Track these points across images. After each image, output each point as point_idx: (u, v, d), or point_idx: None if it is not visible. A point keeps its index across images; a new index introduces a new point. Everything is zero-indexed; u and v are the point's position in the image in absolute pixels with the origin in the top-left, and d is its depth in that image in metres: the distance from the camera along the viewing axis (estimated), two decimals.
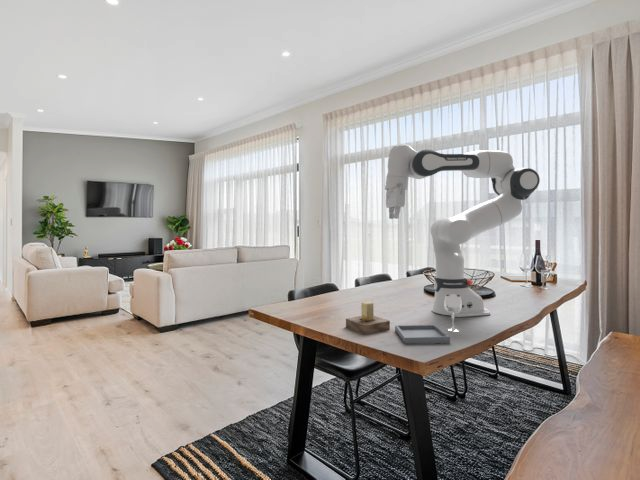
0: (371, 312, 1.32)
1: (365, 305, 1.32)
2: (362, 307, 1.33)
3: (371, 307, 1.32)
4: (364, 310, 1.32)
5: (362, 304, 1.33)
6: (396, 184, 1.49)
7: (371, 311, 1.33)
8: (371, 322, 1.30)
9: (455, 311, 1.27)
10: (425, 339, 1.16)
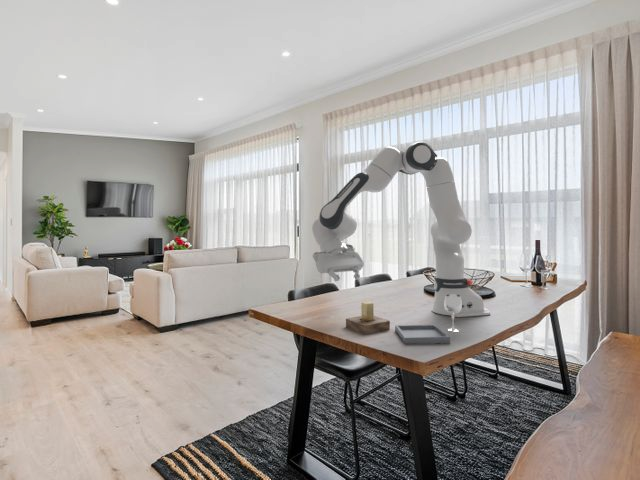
0: (371, 312, 1.32)
1: (365, 305, 1.32)
2: (362, 307, 1.33)
3: (371, 307, 1.32)
4: (364, 310, 1.32)
5: (362, 304, 1.33)
6: None
7: (371, 311, 1.33)
8: (371, 322, 1.30)
9: (455, 311, 1.27)
10: (425, 339, 1.16)
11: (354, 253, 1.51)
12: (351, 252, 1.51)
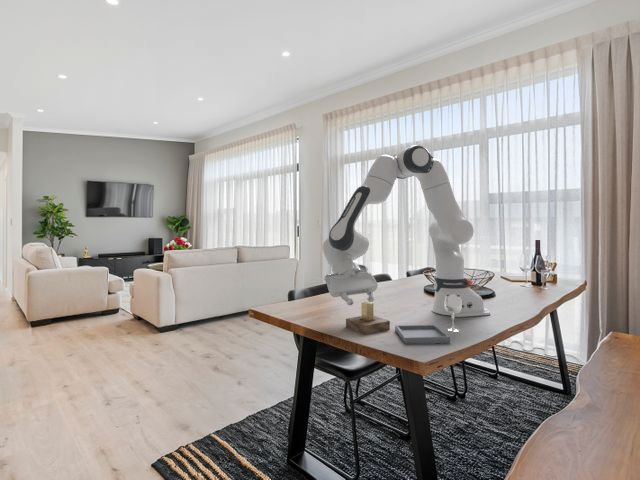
0: (371, 312, 1.32)
1: (365, 305, 1.32)
2: (362, 307, 1.33)
3: (371, 307, 1.32)
4: (364, 310, 1.32)
5: (362, 304, 1.33)
6: None
7: (371, 311, 1.33)
8: (371, 322, 1.30)
9: (455, 311, 1.27)
10: (425, 339, 1.16)
11: (367, 274, 1.45)
12: (364, 273, 1.44)
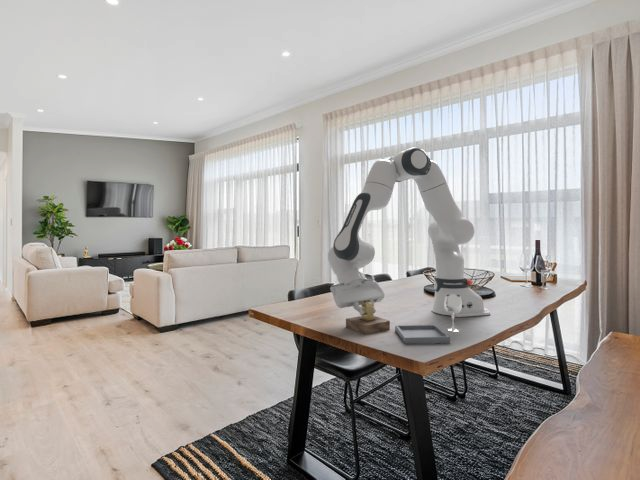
0: (371, 312, 1.32)
1: (365, 305, 1.32)
2: (362, 307, 1.33)
3: (371, 307, 1.32)
4: None
5: (362, 304, 1.33)
6: None
7: (371, 311, 1.33)
8: (371, 322, 1.30)
9: (455, 311, 1.27)
10: (425, 339, 1.16)
11: (374, 283, 1.41)
12: (371, 282, 1.41)
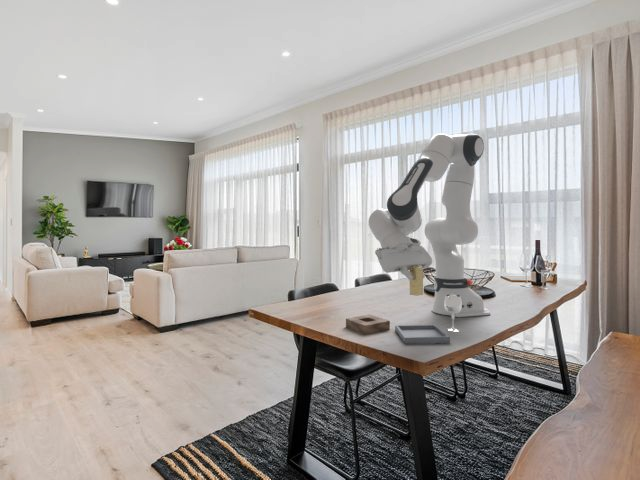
0: (420, 277, 1.22)
1: (414, 269, 1.21)
2: (410, 272, 1.23)
3: (421, 271, 1.22)
4: None
5: (410, 268, 1.23)
6: None
7: (421, 276, 1.22)
8: (371, 322, 1.30)
9: (455, 311, 1.27)
10: (425, 339, 1.16)
11: (420, 248, 1.31)
12: (417, 247, 1.30)
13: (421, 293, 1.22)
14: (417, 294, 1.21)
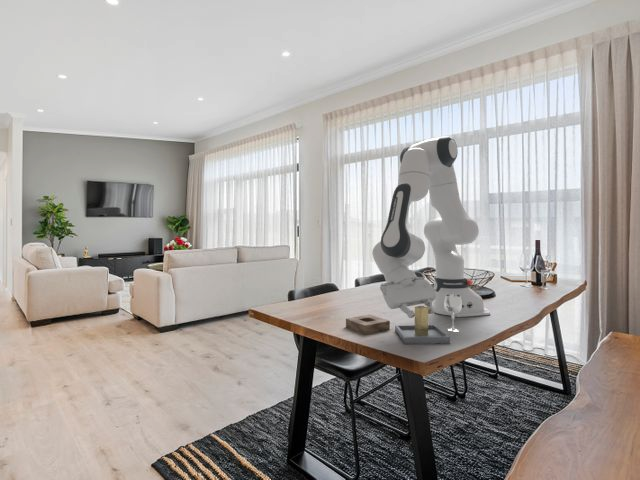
0: (425, 317, 1.22)
1: (420, 309, 1.21)
2: (416, 311, 1.23)
3: (426, 311, 1.22)
4: (419, 315, 1.21)
5: (416, 308, 1.22)
6: None
7: (426, 316, 1.22)
8: (371, 322, 1.30)
9: (455, 311, 1.27)
10: (425, 339, 1.16)
11: (424, 282, 1.31)
12: (422, 281, 1.30)
13: (426, 333, 1.22)
14: (422, 334, 1.21)
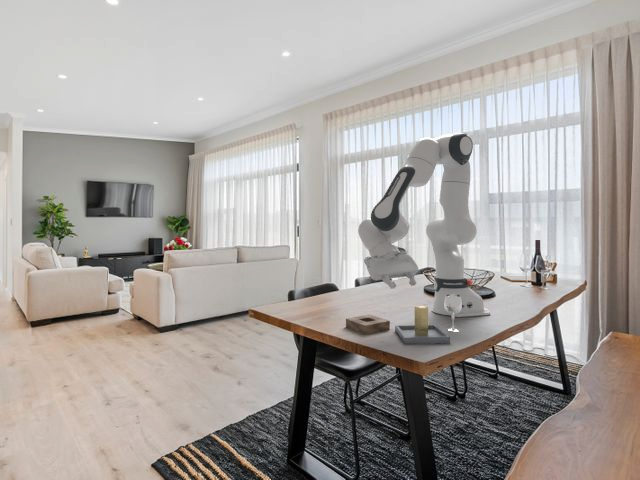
0: (425, 317, 1.22)
1: (419, 309, 1.21)
2: (416, 311, 1.23)
3: (426, 311, 1.22)
4: (418, 315, 1.21)
5: (416, 308, 1.22)
6: None
7: (426, 316, 1.22)
8: (371, 322, 1.30)
9: (455, 311, 1.27)
10: (425, 339, 1.16)
11: (407, 257, 1.37)
12: (404, 256, 1.37)
13: (426, 333, 1.22)
14: (422, 334, 1.21)
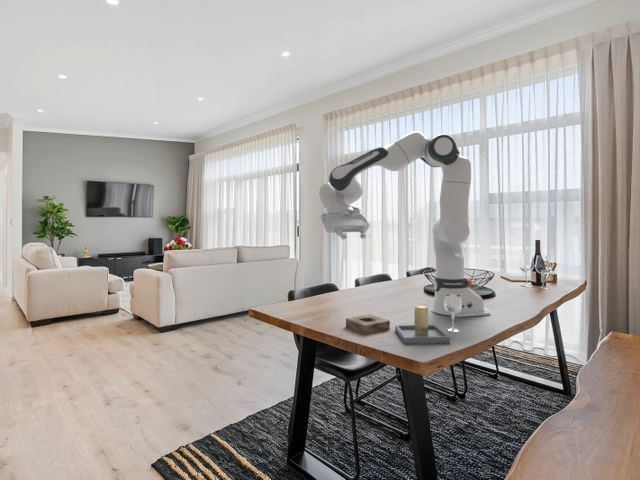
0: (425, 317, 1.22)
1: (419, 309, 1.21)
2: (416, 311, 1.23)
3: (426, 311, 1.22)
4: (418, 315, 1.21)
5: (416, 308, 1.22)
6: None
7: (426, 316, 1.22)
8: (371, 322, 1.30)
9: (455, 311, 1.27)
10: (425, 339, 1.16)
11: (360, 215, 1.57)
12: (357, 214, 1.57)
13: (426, 333, 1.22)
14: (422, 334, 1.21)
